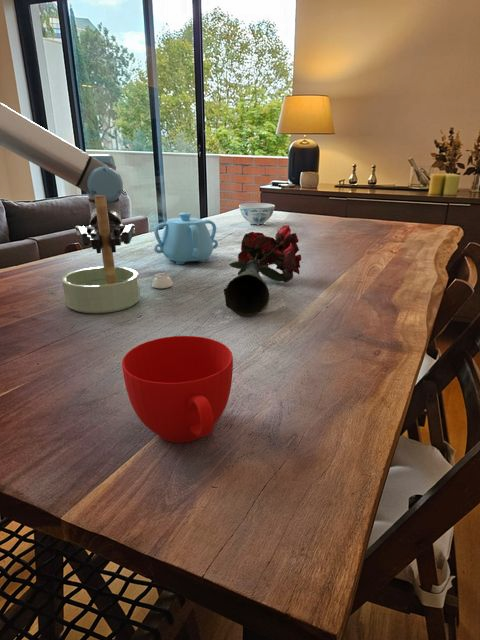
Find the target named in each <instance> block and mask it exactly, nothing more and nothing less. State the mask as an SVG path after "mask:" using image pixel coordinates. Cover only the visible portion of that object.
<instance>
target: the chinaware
mask: <svg viewBox="0 0 480 640" xmlns="http://www.w3.org/2000/svg"><path fill="white" fill-rule="evenodd" d="M238 206H239V211H240V213H241V216H242V217H243V219H245V221H247V222H248V224H249V225H250V224H264V223H265V224H266V222H267V221H268V220H270V219H271V217H272V216H273V213H274V211H275V207H276V205H275V204H272V203H267V202H245V203H240V204H239V205H238ZM265 224H264V225H265Z"/></svg>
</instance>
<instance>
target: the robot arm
mask: <svg viewBox="0 0 480 640" xmlns="http://www.w3.org/2000/svg"><path fill="white" fill-rule="evenodd" d="M0 147H2V148H4V149H6V150H8V151H10V152H12V153H13V154H15V155H17V156H19V157H21V158H23V159H24V160H26V161H28V162H30V163H32V164H34V165H36V166H38V167H39V168H40V169H43V170H44V171H47V172H49V173H50V174H53V176H56V177H58V178H60V179H62V180H64V181H65V182H67V183H69V184H71V185H73V186H75V187H76V188H78V189H80V190H81V191H83V192H85V193H87V196H88V205H89V207H88V208H89V214H90V219H89V225H87V226H86V227H85V226H80V225H76V226H75V227H74V228H75V234H76V238H77V239H80V242H81V244H82V245H83V246H85V247H87V246H89V245H90V246H91V248H92V250H95V251H96V254H102V250H101V242H100V235H99V228H98V221H97V213H96V206H95V198H94V196H95V195H105V196H106V202H107V210H108V218H109V226H110V240H111V248H112V253H113V254H115V253H117V247H118V246H122V243H123V244H124V245H129V244H130V243H131V241H132V238H133V237H136V235H137V234H136V225H135V224H134V223H131V224H128V225H124V224H123V219H122V211H121V203H120V197H121V196H122V194H123V190H124V183H123V179H122V176H121V174H120V173H119V172H118V171H117V165H116V162H115V157H114V156H113V155H112V154H106V153H105V154H104V153H102V154H101V153H100V154H99V153H98V154H97V153H95V154H91V153H90V154H88V153H86V152H85V151H84V150H82V149H79V148H78V147H77V146H75V145H73V144H71V143H69V142H68V141H66V140H65V139H63V138H61V137H59V136H57V134H54V133H52V132H50V131H49V130H47V129H45V128H44V127H42V126H40V125H39V124H37V123H35V122H34V121H32V120H30V119H29V118H27V117H25V116H23V115H22V114H20V113H18V112H16V111H15V110H13V109H11V108H10V107H8V106H7V105H5V104H4V103H1V102H0Z"/></svg>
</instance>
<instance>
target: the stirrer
mask: <svg viewBox="0 0 480 640" xmlns="http://www.w3.org/2000/svg"><path fill="white" fill-rule="evenodd" d="M94 198H95V206H96V213H97V221H98V228H99V235H100V242H101V257H102V265H103V267H104V272H105V280H106V284H104V285H109V284H115V283H117V282H116V274H115V267H116V266H115V259H114V253H112V248H111V240H110V226H109V218H108V210H107V202H106V196H105V195H95V196H94Z"/></svg>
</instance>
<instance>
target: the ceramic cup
mask: <svg viewBox="0 0 480 640" xmlns="http://www.w3.org/2000/svg"><path fill="white" fill-rule="evenodd" d="M121 369H122V374H123V375H122V376H123V381H124V384H125V389H126V393H127V396H128V399H129V402H130V405H131V407H132V409H133V411H134V412H135V414H136V416H137V417H138V419H139V421H141V423H142V424H143V425H144V426H145V427H147V428H148V429H149V430H150V431H151V432H153V433H154V434H156V435H157V436H158V437H160V438H161V439H162V440H164V441H168V442H171V443H178V444H179V443H181V444H182V443H188V442H189V443H190V442H193V441H196V440H198V439H200V438H204V437H206V436H209V435H211V434H212V432H213V430H214V426H215V424H216V423H217V422H218V421H219V419H220V418H221V416H222V415H223V413H224V411H225V409H226V407H227V405H228V401H229V399H230V395H231V394H230V393H231V389H232V384H233V372H234V357H233V352H232V351H231V349H230V348H229V347H228V346H227V345H226V344H224V343H222V342H220V341H218V340H215V339H213V338H208V337H204V336H195V335H173V336H165V337H160V338H156V339H155V338H154V339H151V340H148V341H145V342H142V343H141V344H138V345H136V346H135V347H133V348H131V349H130V350H129V351H127V353H126V354H125V355H124V357H123V358H122V361H121Z"/></svg>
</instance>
